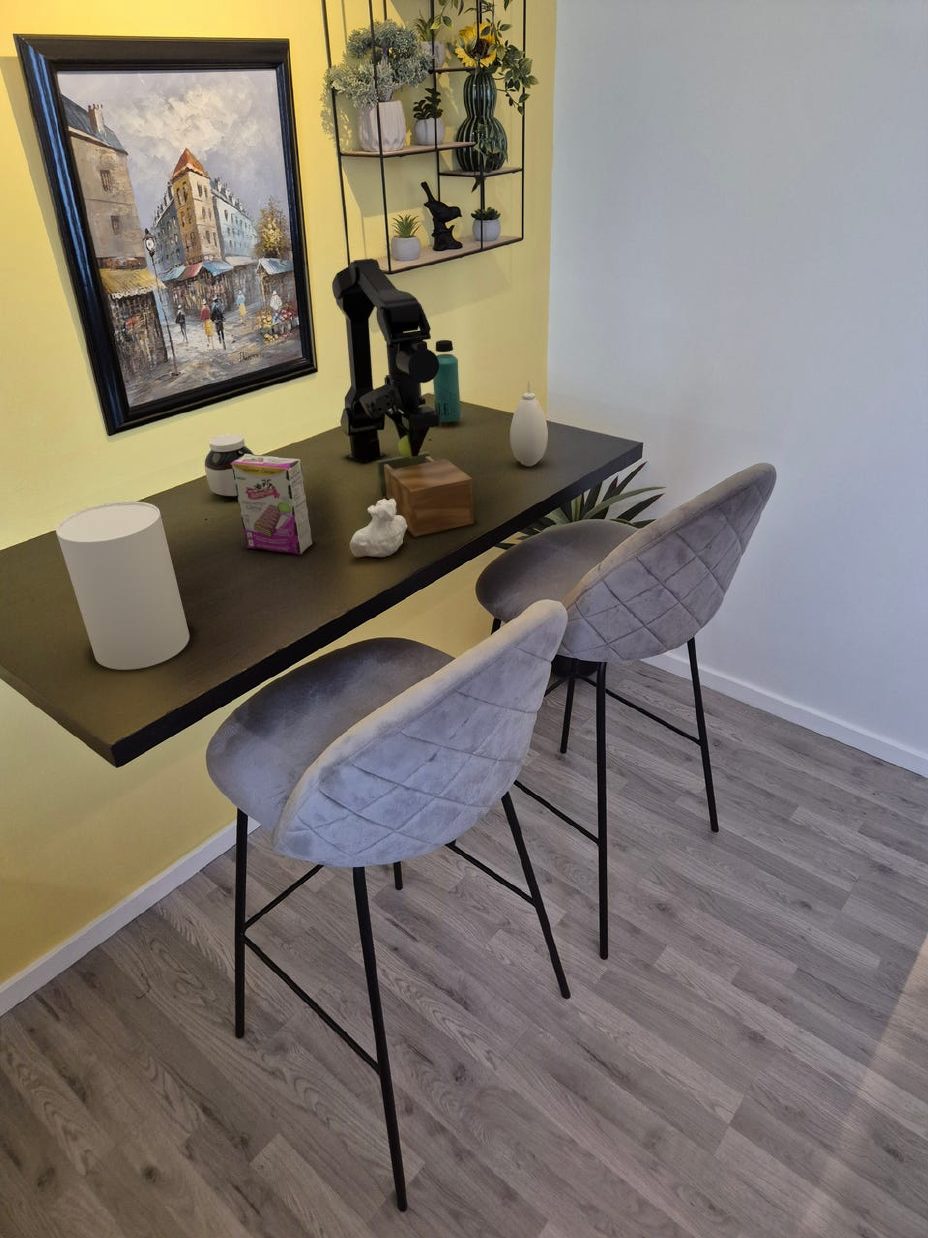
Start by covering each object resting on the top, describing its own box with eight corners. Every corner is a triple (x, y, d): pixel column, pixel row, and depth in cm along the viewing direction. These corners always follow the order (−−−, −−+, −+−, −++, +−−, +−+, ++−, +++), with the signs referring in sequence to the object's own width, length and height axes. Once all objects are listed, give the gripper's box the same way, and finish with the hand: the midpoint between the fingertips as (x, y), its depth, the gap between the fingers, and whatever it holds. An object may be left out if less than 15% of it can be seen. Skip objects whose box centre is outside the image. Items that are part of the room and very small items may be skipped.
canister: (131, 616, 136) (98, 498, 126) (206, 626, 132) (179, 505, 122) (74, 663, 125) (33, 537, 115) (155, 675, 121) (120, 546, 111)
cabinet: (391, 514, 166) (387, 470, 162) (448, 501, 170) (446, 458, 166) (414, 537, 157) (410, 491, 152) (473, 523, 161) (472, 478, 156)
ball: (394, 458, 166) (392, 436, 164) (411, 452, 169) (409, 430, 166) (409, 463, 163) (408, 440, 161) (426, 456, 166) (425, 434, 164)
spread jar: (223, 506, 173) (212, 450, 167) (197, 491, 181) (186, 437, 175) (275, 489, 180) (266, 435, 174) (248, 475, 187) (239, 423, 181)
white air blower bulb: (553, 461, 187) (554, 378, 178) (536, 473, 181) (536, 388, 172) (522, 456, 191) (521, 374, 181) (504, 467, 185) (502, 383, 176)
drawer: (378, 493, 173) (374, 458, 170) (427, 483, 177) (425, 449, 173) (399, 514, 164) (396, 478, 160) (450, 503, 167) (449, 467, 164)
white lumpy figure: (358, 576, 149) (378, 540, 140) (333, 542, 151) (352, 504, 142) (409, 552, 156) (432, 517, 147) (386, 520, 158) (407, 483, 149)
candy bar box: (245, 549, 155) (229, 462, 147) (260, 537, 159) (244, 452, 151) (301, 556, 152) (287, 467, 144) (314, 544, 156) (301, 457, 148)
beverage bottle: (462, 419, 215) (459, 337, 205) (460, 428, 209) (456, 343, 199) (436, 419, 216) (432, 337, 205) (433, 428, 210) (428, 344, 200)
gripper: (346, 365, 162) (355, 445, 170) (379, 389, 147) (387, 475, 155) (401, 357, 166) (407, 436, 174) (439, 379, 151) (444, 464, 159)
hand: (410, 452), depth 165 cm, fingers closed on ball, 4 cm apart
